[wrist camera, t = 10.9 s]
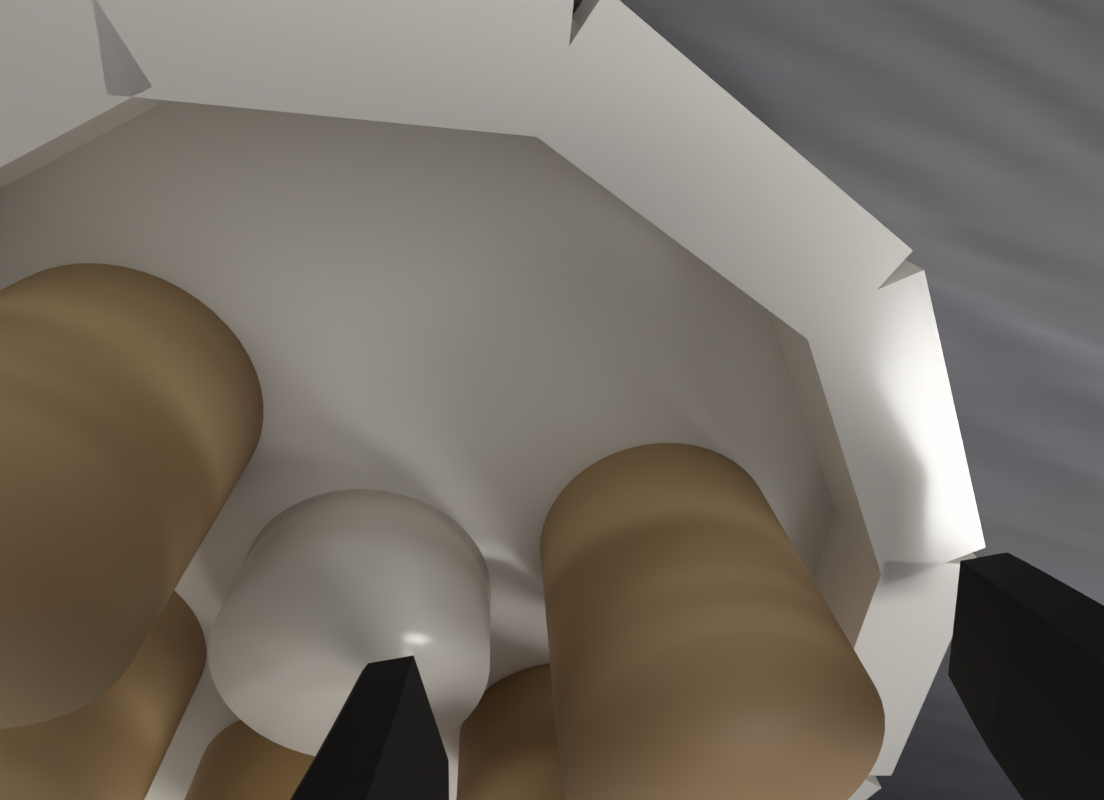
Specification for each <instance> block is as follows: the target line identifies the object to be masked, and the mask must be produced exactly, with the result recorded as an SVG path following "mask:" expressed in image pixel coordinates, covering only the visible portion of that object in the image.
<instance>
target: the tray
mask: <svg viewBox="0 0 1104 800" xmlns="http://www.w3.org/2000/svg"><path fill="white" fill-rule="evenodd" d="M573 3H574V0H0V290H2V289H4V288H6V287H8V286H10V285H12V284H14V283H16V282H18V281H20V280H22V279H24V278H26V277H28V276H30V275H33V274H35V273H37V272H40V271H42V270H45V269H49V268H53V267H57V266H61V265H69V264H78V263H102V264H109V265H117V266H123V267H127V268H131V269H135V270H139V271H143V272H145V273H148V274H151V275H153V276H156V277H159V278H161V279H164V280H166V281H168V282H170V283H172V284H174V285H176V286H178V287H180V288H181V289H183V290H185V291H186V292H188V293H189V294H191V295H192V296H194V297H195V298H197V299H198V300H200V301H201V302H202V303H203V304H205V305H206V306H207V307H208V308H210V309H211V310H212V311H213V312H214V313H215V314H216V315H217V316H218V317H219V318H220V319H221V320H222V321H223V322H224V323H225V324H226V325H227V326H228V327H229V328H230V329H231V331H232V332H233V333H234V334H235V336H236V337H237V338H238V339H239V341H240V342H241V344H242V346H243V347H244V349H245V350H246V352H247V354H248V355H249V357H250V359H251V362H252V364H253V366H254V368H255V370H256V373H257V376H258V380H259V383H260V386H261V391H262V398H263V425H262V431H261V436H260V439H259V442H258V445H257V448H256V450H255V452H254V453H253V455H252V457H251V459H250V461H249V463H248V465H247V466H246V468H245V470H244V471H243V473H242V475H241V477H240V478H239V480H238V482H237V483H236V485H235V487H234V488H233V490H232V492H231V494H230V495H229V497H228V499H227V500H226V502H225V504H224V506H223V507H222V509H221V511H220V512H219V514H218V516H217V518H216V519H215V521H214V523H213V524H212V526H211V528H210V530H209V531H208V533H207V535H206V536H205V538H204V540H203V542H202V543H201V545H200V547H199V548H198V550H197V552H196V554H195V555H194V557H193V559H192V560H191V562H190V564H189V566H188V567H187V569H186V571H185V572H184V574H183V576H182V578H181V579H180V581H179V583H178V584H177V586H176V588H175V591H176V592H177V593H178V594H179V595H180V596H181V597H182V598H183V599H184V600H185V602H186V603H187V604H188V606H189V607H190V608H191V609H192V611H193V612H194V614H195V616H196V617H197V619H198V621H199V623H200V625H201V628H202V630H203V633H204V637H205V642H206V662H205V667H204V670H203V673H202V676H201V678H200V680H199V683H198V685H197V687H196V689H195V691H194V693H193V696H192V698H191V700H190V702H189V704H188V706H187V708H186V711H185V713H184V715H183V717H182V719H181V721H180V724H179V726H178V728H177V730H176V732H175V734H174V737H173V739H172V741H171V743H170V745H169V747H168V750H167V752H166V754H165V756H164V758H163V760H162V763H161V765H160V767H159V769H158V771H157V773H156V776H155V778H154V780H153V782H152V784H151V786H150V789H149V791H148V793H147V795H146V797H145V799H144V800H185V797H186V795H187V792H188V790H189V787H190V785H191V782H192V780H193V778H194V775H195V773H196V770H197V768H198V765H199V763H200V760H201V758H202V756H203V753H204V751H205V750H206V748H207V746H208V745H209V743H210V742H211V741H212V740H213V739H214V738H215V736H217V735H218V734H219V733H220V732H221V731H222V730H224V729H225V728H227V727H228V726H230V725H231V724H233V723H235V722H237V721H239V720H242V721H243V722H244V723H245V724H246V725H248V726H249V727H250V728H252V729H253V730H254V731H256V732H257V733H259V734H260V735H262V736H264V737H266V738H267V739H269V740H271V741H273V742H275V743H277V744H279V745H282V746H284V747H286V748H289V749H292V750H295V751H298V752H301V753H304V754H308V755H312V756H316V754H317V753H318V751H319V749H320V747H321V745H322V744H323V742H324V740H325V738H326V736H327V735H328V733H329V731H330V729H331V727H332V726H333V724H334V722H335V720H336V718H337V717H338V715H339V713H340V711H341V709H342V707H343V705H344V704H345V702H346V700H347V698H348V696H349V694H350V692H351V690H352V689H353V687H354V685H355V683H356V681H357V679H358V677H359V676H360V674H361V672H362V670H363V669H364V668H365V667H366V665H367V664H368V663H373V662H378V661H384V660H390V659H396V658H401V657H407V656H413V655H414V658H415V661H416V664H417V667H418V670H419V673H420V676H421V679H422V682H423V685H424V688H425V691H426V694H427V697H428V700H429V703H430V706H431V709H432V712H433V715H434V718H435V721H436V724H437V727H438V730H439V733H440V736H441V739H442V742H443V745H444V748H445V751H446V754H447V757H448V760H449V800H456V798H457V778H458V757H459V738H460V729H461V726H462V722H463V721H465V720H466V719H467V718H468V717H469V715H470V714H471V713H472V711H473V710H474V709H475V708H476V706H477V705H478V703H479V701H480V699H481V697H482V696H483V693H484V691H485V690H487V689H488V688H489V687H490V686H492V685H493V684H495V683H496V682H498V681H499V680H501V679H503V678H505V677H507V676H509V675H511V674H513V673H516V672H518V671H521V670H524V669H527V668H530V667H534V666H538V665H544V664H550V657H549V646H548V634H547V623H546V611H545V600H544V588H543V577H542V565H541V554H540V544H541V535H542V530H543V525H544V522H545V520H546V517H547V515H548V512H549V510H550V508H551V507H552V505H553V503H554V501H555V500H556V498H557V497H558V496H559V494H560V493H561V492H562V490H563V489H564V488H565V487H566V486H567V485H568V484H569V483H570V482H571V481H572V480H573V479H574V478H575V477H576V476H577V475H579V474H580V473H581V472H582V471H584V470H585V469H586V468H588V467H589V466H591V465H593V464H594V463H596V462H597V461H599V460H601V459H603V458H605V457H607V456H609V455H612V454H614V453H616V452H619V451H622V450H625V449H628V448H632V447H636V446H641V445H646V444H655V443H682V444H689V445H695V446H699V447H703V448H707V449H710V450H712V451H715V452H717V453H720V454H722V455H724V456H725V457H727V458H729V459H731V460H732V461H734V462H735V463H737V464H738V465H739V466H740V467H742V468H743V469H744V470H745V471H746V472H747V473H748V474H749V475H750V476H751V477H752V478H753V479H754V481H755V482H756V484H757V485H758V487H759V488H760V490H761V491H762V493H763V495H764V496H765V498H766V500H767V502H768V503H769V505H770V507H771V508H772V510H773V512H774V514H775V515H776V517H777V519H778V520H779V522H780V524H781V526H782V527H783V529H784V531H785V532H786V534H787V536H788V538H789V539H790V541H791V543H792V544H793V546H794V548H795V550H796V551H797V553H798V555H799V556H800V558H801V560H802V562H803V563H804V565H805V567H806V568H807V570H808V572H809V574H810V575H811V577H812V579H813V580H814V582H815V584H816V586H817V587H818V589H819V591H820V592H821V594H822V596H823V598H824V599H825V601H826V603H827V604H828V606H829V608H830V610H831V611H832V613H833V615H834V616H835V618H836V620H837V621H838V623H839V625H840V627H841V628H842V630H843V632H844V633H845V635H846V637H847V639H848V640H849V642H850V644H851V645H852V647H853V649H854V651H855V652H856V654H857V656H858V657H859V659H860V661H861V663H862V664H863V666H864V668H865V669H866V671H867V673H868V675H869V676H870V678H871V680H872V681H873V683H874V685H875V687H876V689H877V691H878V693H879V696H880V698H881V700H882V704H883V709H884V714H885V733H884V739H883V745H882V747H881V750H880V753H879V756H878V759H877V761H876V763H875V764H874V766H873V768H872V770H871V772H870V774H869V775H868V776H867V778H866V779H865V781H864V782H863V783H862V785H861V786H860V787H859V788H858V790H857V791H856V792H855V793H854V794H853V795H852V796H851V797H850V798H849V799H848V800H867V799H868V798H869V797H870V796H872V795H873V794H874V793H875V792H877V791H878V790H879V789H880V788H881V786H880V784H879V782H878V780H877V778H876V776H891V775H892V773H893V771H894V769H895V766H896V764H897V762H898V760H899V757H900V755H901V753H902V750H903V748H904V746H905V744H906V741H907V739H908V737H909V734H910V732H911V730H912V728H913V725H914V723H915V721H916V718H917V716H918V714H919V712H920V709H921V707H922V705H923V702H924V700H925V698H926V696H927V693H928V691H929V689H930V686H931V684H932V682H933V680H934V677H935V675H936V673H937V671H938V668H939V666H940V664H941V661H942V659H943V657H944V655H945V652H946V650H947V648H948V645H949V643H950V641H951V639H952V635H953V626H954V617H955V607H956V598H957V589H958V579H959V570H960V561H962V560H967V559H973V558H977V557H976V556H975V555H974V554H973V553H972V552H975V551H977V550H980V549H983V548H985V547H986V546H985V542H984V537H983V533H982V528H981V523H980V519H979V514H978V510H977V505H976V501H975V496H974V492H973V487H972V483H971V478H970V474H969V469H968V465H967V460H966V456H965V451H964V447H963V442H962V438H961V433H960V429H959V424H958V420H957V415H956V411H955V406H954V402H953V397H952V393H951V388H950V384H949V379H948V375H947V370H946V366H945V361H944V357H943V352H942V348H941V343H940V339H939V334H938V330H937V325H936V321H935V316H934V312H933V307H932V303H931V298H930V294H929V289H928V285H927V280H926V276H925V271H924V269H922V268H920V267H918V266H916V265H915V264H913V263H911V262H909V261H907V260H905V259H906V257H907V256H908V255H909V254H910V253H911V252H912V251H913V250H912V249H910V248H909V247H908V246H907V245H906V244H905V243H903V242H902V241H901V240H900V239H899V238H898V237H896V236H895V235H894V234H893V233H892V232H891V231H889V230H888V229H887V228H886V227H885V226H884V225H882V224H881V223H880V222H879V221H878V220H876V219H875V218H874V217H873V216H872V215H871V214H869V213H868V212H867V211H866V210H865V209H864V208H862V207H861V206H860V205H859V204H858V203H857V202H855V201H854V200H853V199H852V198H851V197H850V196H848V195H847V194H846V193H845V192H844V191H842V190H841V189H840V188H839V187H838V186H837V185H835V184H834V183H833V182H832V181H831V180H830V179H828V178H827V177H826V176H825V175H824V174H823V173H821V172H820V171H819V170H818V169H817V168H815V167H814V166H813V165H812V164H811V163H810V162H808V161H807V160H806V159H805V158H804V157H803V156H801V155H800V154H799V153H798V152H797V151H796V150H794V149H793V148H792V147H791V146H790V145H789V144H787V143H786V142H785V141H784V140H783V139H781V138H780V137H779V136H778V135H777V134H776V133H774V132H773V131H772V130H771V129H770V128H769V127H767V126H766V125H765V124H764V123H763V122H762V121H760V120H759V119H758V118H757V117H756V116H755V115H753V114H752V113H751V112H750V111H749V110H747V109H746V108H745V107H744V106H743V105H742V104H740V103H739V102H738V101H737V100H736V99H735V98H733V97H732V96H731V95H730V94H729V93H728V92H726V91H725V90H724V89H723V88H722V87H721V86H719V85H718V84H717V83H716V82H715V81H713V80H712V79H711V78H710V77H709V76H708V75H706V74H705V73H704V72H703V71H702V70H701V69H699V68H698V67H697V66H696V65H695V64H694V63H692V62H691V61H690V60H689V59H688V58H686V57H685V56H684V55H683V54H682V53H681V52H679V51H678V50H677V49H676V48H675V47H674V46H672V45H671V44H670V43H669V42H668V41H667V40H665V39H664V38H663V37H662V36H661V35H660V34H658V33H657V32H656V31H655V30H654V29H652V28H651V27H650V26H649V25H648V24H647V23H645V22H644V21H643V20H642V19H641V18H640V17H638V16H637V15H636V14H635V13H634V12H633V11H631V10H630V9H629V8H628V7H627V6H626V5H624V4H623V3H622V2H621V1H620V0H582V2H581V3H580V5H579V6H578V8H577V9H576V11H575V13H574V14H573V16H572V13H573Z"/></svg>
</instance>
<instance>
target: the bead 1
mask: <svg viewBox="0 0 1104 800" xmlns="http://www.w3.org/2000/svg"><path fill="white" fill-rule="evenodd" d="M456 800H567V798H566V796H565V794H564V791H563V788H562V784H561V780H560V771H559V761H558V750H557V738H556V726H555V715H554V703H553V692H552V680H551V669H550V664H544V665H538V666H534V667H530V668H527V669H524V670H521V671H518V672H516V673H513V674H511V675H509V676H507V677H505V678H503V679H501V680H499V681H498V682H496V683H495V684H493V685H492V686H490V687H489V688H488V689H487V690H485V691H484V693H483V696H482V697H481V699H480V701H479V703H478V705H477V706H476V708H475V709H474V710H473V711H472V713H471V714H470V715H469V717H468V718H467V719H466V720H465V721H463V722H462V726H461V729H460V738H459V757H458V778H457V798H456Z"/></svg>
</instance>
